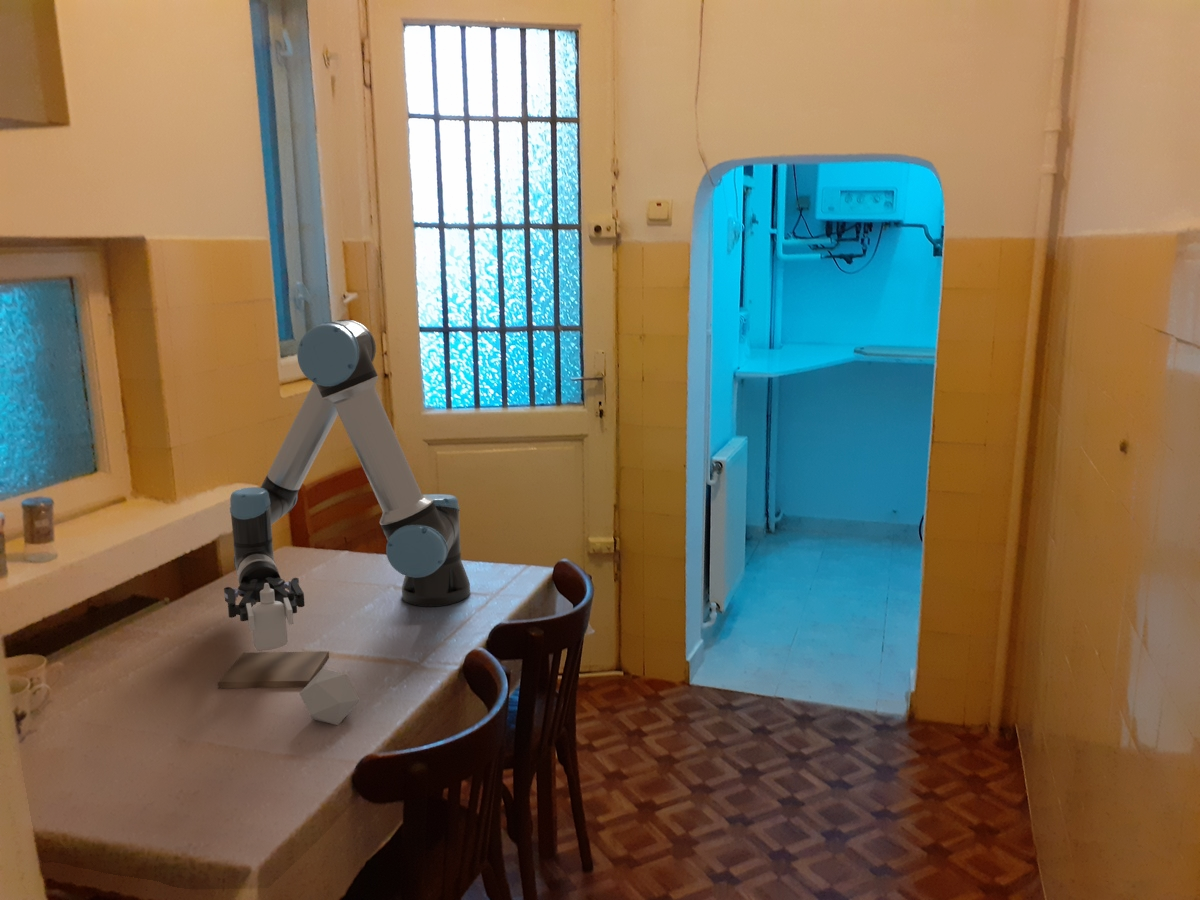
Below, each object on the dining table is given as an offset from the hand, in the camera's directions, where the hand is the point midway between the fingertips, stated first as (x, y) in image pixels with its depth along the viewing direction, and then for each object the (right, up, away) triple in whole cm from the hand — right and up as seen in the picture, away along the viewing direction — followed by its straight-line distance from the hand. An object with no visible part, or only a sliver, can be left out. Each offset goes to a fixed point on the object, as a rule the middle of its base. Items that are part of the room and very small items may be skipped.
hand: (271, 620), depth 152 cm
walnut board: (-2, -11, +7) cm, 13 cm away
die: (+13, -14, -9) cm, 22 cm away
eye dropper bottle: (-2, -6, +6) cm, 9 cm away
